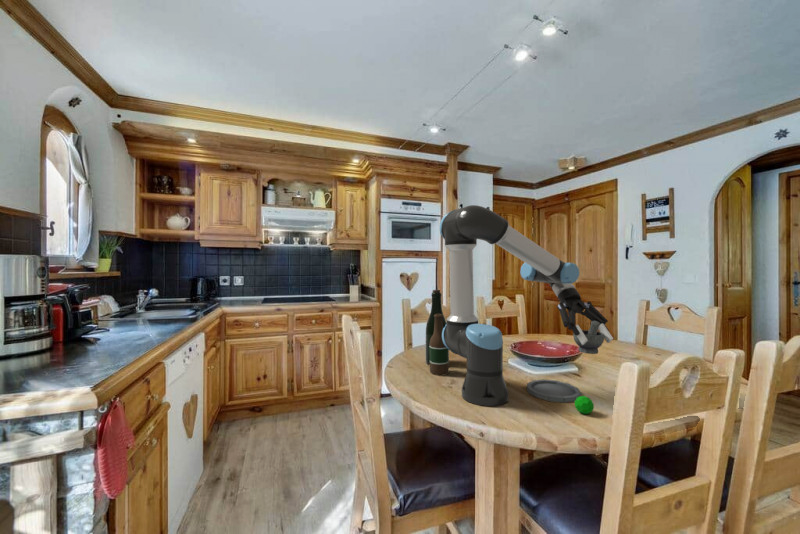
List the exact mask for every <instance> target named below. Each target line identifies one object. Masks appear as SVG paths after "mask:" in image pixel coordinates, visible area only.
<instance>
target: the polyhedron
mask: <svg viewBox="0 0 800 534" xmlns="http://www.w3.org/2000/svg"><path fill="white" fill-rule="evenodd" d="M574 407H575V409H576V410H577V412H579V413H580V414H582V415H588V414H591V413H592V411H594V408H595V405H594V402H593V401H592V399H591V398H590V397H588V396H585V395H581V396H580V397H577V399H576V400H575V401H574Z"/></svg>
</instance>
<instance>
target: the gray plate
mask: <svg viewBox="0 0 800 534" xmlns="http://www.w3.org/2000/svg"><path fill="white" fill-rule="evenodd" d="M526 388H527V389H526V391H527V393H528V394H530V395H532V396H533V397H535V398H538V399H541V400H544V401H547V402H555V403H572V402H574V403H575V400H576V399H577V397H580V396H582V392H581V390H580V389H579V388H578V387H576V386H574V385H573V384H570V383H568V382H564V381H560V380H555V379H554V380H553V379H534V380H531V381H529V382H527V383H526Z"/></svg>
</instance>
